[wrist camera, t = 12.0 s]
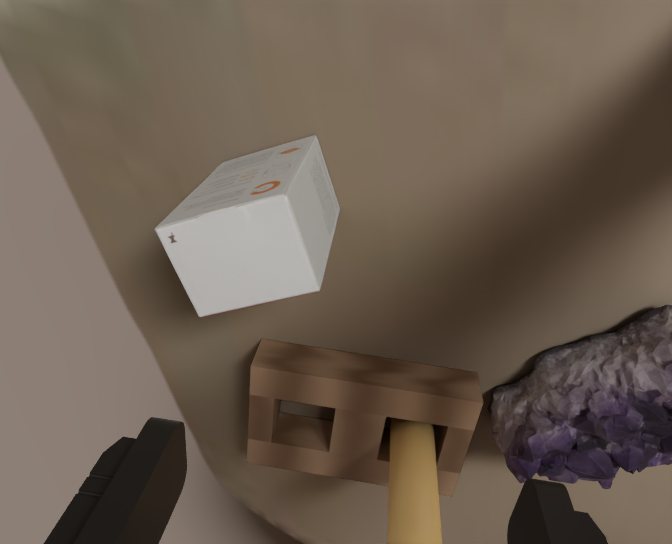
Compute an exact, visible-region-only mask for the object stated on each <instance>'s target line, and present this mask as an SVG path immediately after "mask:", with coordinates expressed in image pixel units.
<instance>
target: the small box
mask: <svg viewBox="0 0 672 544" xmlns="http://www.w3.org/2000/svg"><path fill="white" fill-rule="evenodd" d="M339 211H340V208H339V205H338V202H337V198H336V195H335V192H334V189H333V186H332V183H331V180H330V176H329V173H328V170H327V167H326V164H325V161H324V158H323V154H322V151H321V148H320V145H319V142H318V139H317V136H316V135H314V136H310V137H307V138H303V139H299V140H296V141H292V142H289V143H285V144H282V145H279V146H275V147H272V148H268V149H265V150H262V151H258V152H255V153H252V154H248V155H245V156H242V157H238V158H235V159H232V160H229V161H226V162H223V163H221V164H220V165H219V166H218V167H217V168H216V169H215V170H214V171H213V172H212V173H211V174H210V175H209V176H208V177H207V178H206V179H205V180H204V181H203V182H202V183H201V184H200V185H199V186H198V187H197V188H196V189H195V190H194V191H193V192H192V193H191V194H190V195H189V196H187V197H186V198H185V199H184V200H183V201H182V202H181V203H180V204H179V205H178V206H177V207H176V208H175V209H174V210H173V211H172V212H171V213H170V214H169V215H168V216H167V217H166V218H165V219H164V220H163V221H162V222H161V223H160V224H159V225H158V226H157V227H156V228H155V231H156V233H157V235H158V237H159V238H160V240H161V242H162V244H163V247H164V249H165V251H166V253H167V255H168V257H169V259H170V261H171V263H172V265H173V267H174V269H175V271H176V273H177V275H178V277H179V279H180V281H181V282H182V284H183V286H184V288H185V290H186V292H187V294H188V296H189V298H190V300H191V302H192V304H193V306H194V308H195V310H196V312H197V314H198V316H199V317H205V316H210V315H214V314H219V313H223V312H228V311H232V310H237V309H241V308H246V307H250V306H255V305H259V304H264V303H268V302H273V301H278V300H281V299H286V298H291V297H295V296H300V295H305V294H309V293H313V292H319V291H320V288H321V284H322V280H323V276H324V272H325V268H326V264H327V260H328V256H329V252H330V248H331V244H332V240H333V236H334V232H335V228H336V223H337V219H338V215H339Z"/></svg>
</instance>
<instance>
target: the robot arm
mask: <svg viewBox="0 0 672 544" xmlns="http://www.w3.org/2000/svg"><path fill="white" fill-rule="evenodd" d="M186 471H187V458H186V441H185V427H184V423H183V422H180V421H173V420H167V419H161V418H153V417H151V418H150V419H149V420H148V421H147V422H146V424H145V425H144V427H143V429H142V430H141V432H140V434H139V435H138V437H137V439H134V438H127V437H122V438H121V439H120V440H118V441H117V442H116V443H115V444H113V445H112V446H111V447H110V448H108V449H107V450H106V451H105V452H103V454H102V455H101V457H100V458H99V460H98V461H97V463H96V464H95V466H94V467H93V469H92V470H91V472H90V476H89V477H87V478H86V480H85V481H84V483H83V484H82V486H81V487H80V489H79V492H78V494H76V495H75V497H74V498H73V500H72V501H71V503H70V504H69V506H68V507H67V509H66V511H65V512H64V513H63V515H62V516H61V518H60V520H59V521H58V523H57V524H56V526H55V527H54V529H53V530H52V532H51V533H50V535H49V536H48V538H47V540H46V541H45V543H44V544H158V543H159V541H160V539H161V537H162V534H163V532H164V530H165V528H166V525H167V523H168V521H169V519H170V516H171V514H172V512H173V510H174V508H175V505H176V503H177V501H178V499H179V496H180V494H181V491H182V489H183V485H184V482H185V477H186ZM507 541H508V544H608V543H607V540H606V537H605V535H604V534H603V533H602V532H601V530H600V529H599V528H598V526H597V525H596V524H595V522H594V521H593V520H592V518H591V517H590V516H589V514H588V513H584V512H578V511H574V509H573V506H572V503H571V500H570V497H569V494H568V491H567V489H566V487H565V486H564V485H563V484H561V483H556V482H549V481H543V480H537V479H531V478H528V479H527V480H526V481H525V483H524V485H523V488H522V490H521V493H520V495H519V498H518V500H517V503H516V505H515V507H514V510H513V512H512V515H511V517H510V520H509V524H508V533H507Z"/></svg>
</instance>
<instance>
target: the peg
mask: <svg viewBox="0 0 672 544" xmlns="http://www.w3.org/2000/svg"><path fill="white" fill-rule="evenodd" d="M387 544H442V535H441V521H440V507H439V493H438V480H437V466H436V452H435V439H434V425H433V424H429V423H423V422H417V421H411V420H405V419H398V418H392V417H391V427H390V464H389V501H388V538H387Z"/></svg>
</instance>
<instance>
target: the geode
mask: <svg viewBox="0 0 672 544" xmlns="http://www.w3.org/2000/svg"><path fill="white" fill-rule="evenodd" d="M488 411H489V413H490V420H491V424H492V427H493V434H492V438H493V439H495V444H496V445H497V446H498V447H499V449H500V451H501V453H503V454H504V456H505V460H506V464H507V467H508V469H509V470H510V471H511V472H512V473H513V475H514V476H515V477H516V479H517V480H518V481H519V482H520V483H523V482H525V481H526V480H527V479H528V478H532V477H533V476H534V474H535V473H536V472H537V474H538V475H539V476H547V477H548V478H549V480H552V481H559V482H566V483H573V484H574V483H575V482H577V480H578V479H581V480H588V481H598V482H599V483H600V485H601V486H602V488H604V489H610V487H611V485H612V480H613V479H614V478H615V475H616V473H617V471H618V470H619V468H620V467H621V468H623V469H624V470H625V471H627V472H630V473H632V474H633V473H634V472H635V471H636V469H637V470H638V472H641V471H642V470H643V469H645V468H646V467H651V466H658V465H663V464H666V465H669V464H672V305H665V306H662V307H659V308H656V309H653V310H650V311H648V312H646V313H645V314H643V315H642V316H640V317H639V318H638V319H637V320H635V321H634V322H632V323H630V324H628V325H626V326H624V327H622V328H621V329H619V330H617V331H616V332H613V333H605V334H599V335H593V336H590V337H589V338H587V339H584V340H581V341H578V342H575V343H572V344H568V345H563V346H558V347H555V348H552V349H549V350H547V351H545V352H543V353H542V354H541V355H540V356H538V357H537V359H536V360H535V362H534V370H533V371H532V372H531V373H529V374H528V375H526V376H525V377H523V378H521V379H520V380H518V381H517V382H516V383H513V384H509V385H504V386H498V387H496V388H493V392H492V398H491V401H490V404H489V406H488Z"/></svg>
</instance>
